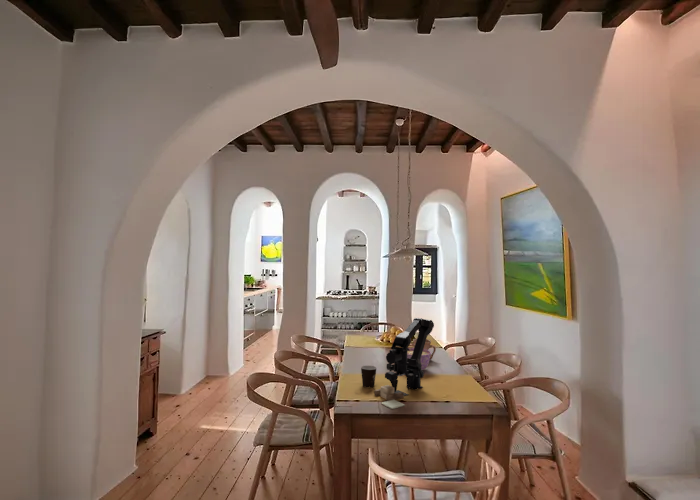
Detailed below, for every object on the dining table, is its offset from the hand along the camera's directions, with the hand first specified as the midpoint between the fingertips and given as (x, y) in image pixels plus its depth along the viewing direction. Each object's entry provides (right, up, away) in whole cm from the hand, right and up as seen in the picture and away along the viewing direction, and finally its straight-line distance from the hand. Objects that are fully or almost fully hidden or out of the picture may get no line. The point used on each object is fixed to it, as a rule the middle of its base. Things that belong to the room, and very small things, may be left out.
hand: (401, 390), depth 204 cm
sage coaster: (-6, -1, -17) cm, 18 cm away
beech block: (-8, -1, -6) cm, 10 cm away
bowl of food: (+15, -3, +44) cm, 47 cm away
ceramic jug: (+24, -4, +67) cm, 71 cm away
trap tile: (-1, -2, -1) cm, 2 cm away
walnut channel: (-7, -1, -5) cm, 9 cm away
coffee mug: (-16, -2, +12) cm, 20 cm away
